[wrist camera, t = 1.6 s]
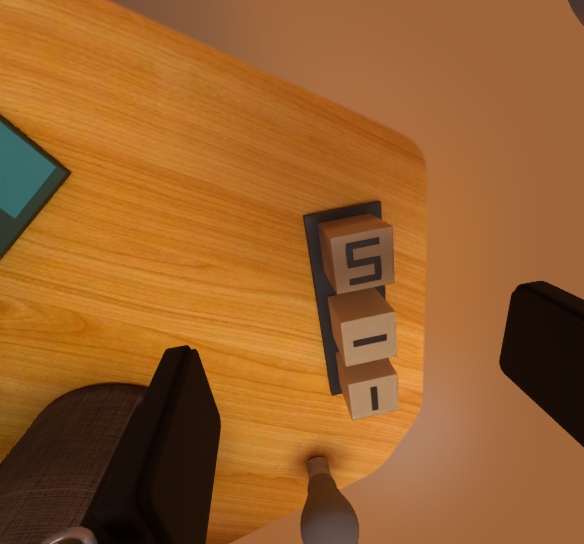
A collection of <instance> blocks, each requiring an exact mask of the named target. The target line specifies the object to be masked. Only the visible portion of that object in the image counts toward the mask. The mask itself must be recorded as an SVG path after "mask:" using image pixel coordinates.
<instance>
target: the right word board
mask: <svg viewBox="0 0 584 544" xmlns="http://www.w3.org/2000/svg"><path fill="white" fill-rule="evenodd" d="M367 213H371V214H372V215H374V216H376V217H378V218H379V219H381V220H382V218H381V202H380V201H373V202H368V203H363V204H358V205H353V206H348V207H343V208H338V209H333V210H328V211H322V212H317V213H312V214H307V215H303V218H304V225H305V231H306V237H307V244H308V250H309V256H310V263H311V269H312V275H313V282H314V288H315V295H316V301H317V307H318V314H319V320H320V326H321V333H322V339H323V345H324V352H325V358H326V365H327V371H328V377H329V384H330V390H331V394H332V396H333V395H337V394H342V393H343V396H344V398H345V401H346V404H347V407H348V410H349V413H350V415H351V418H352V420H357V419H362V418H366V417H371V416H375V415H380V414H384V413H388V412H393V411H397V410H399V408H398V378H397V373H396V371H395V370H394V368H393V366H392V365H391V363H390V362H389V360H388V358H389V357H393V356H397V348H396V318H395V311H394V309H393V308H392V307H391V306H390V305H389V304H388V302H387V301H386V300H385V285H382V286H377V287H372V288H367V289H363V290H358V291H353V292H348V293H343V294H339V295H337V294H336V292H335V290H334V288H333V287H332V285H331V283H330V281H329V279H328V278H327V276H326V274H325V272H324V267H323V260H322V253H321V245H320V238H319V231H318V223H322V222H327V221H332V220H337V219H342V218H347V217H352V216H357V215H362V214H367Z"/></svg>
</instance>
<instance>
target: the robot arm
mask: <svg viewBox="0 0 584 544" xmlns="http://www.w3.org/2000/svg"><path fill="white" fill-rule="evenodd" d="M499 363H500V367H501V370H502V371H503V372H504V374H505V375H506V376H508V378H510V379H511V380H512V381H513V382H514V383H515V384H516V385H517V386H518V387H519V388H520V389H521V390H522V391H524V392H525V393H526V394H527V395H528V396H529V397H530V398H531V399H532V400H533V401H534V402H536V404H538V405H539V406H540V407H541V408H542V409H543V410H544V411H545V412H546V413H547V414H548V415H550V416H551V417H552V418H553V419H554V420H555V421H556V422H557V423H558V424H559V425H560V426H561V427H562V428H563V429H565V430H566V431H567V432H568V433H569V434H570V435H571V436H572V437H573V438H574V439H575V440H577V442H579V443H580V444H581V445H582V446H583V447H584V300H583V299H581V298H579V297H576V296H574V295H573V294H570V293H568V292H566V291H564V290H562V289H560V288H558V287H556V286H553V285H551V284H549V283H547V282H544V281H536V282H530V283H525V284H521V285H519V286H517V288H516V289H515V291H514V292H513V293H512V295H511V300H510V305H509V311H508V317H507V322H506V328H505V333H504V338H503V344H502V349H501V355H500V360H499ZM220 429H221V421H220V416H219V412H218V409H217V407H216V404H215V401H214V398H213V395H212V392H211V389H210V386H209V383H208V380H207V377H206V374H205V371H204V369H203V366H202V363H201V360H200V357H199V354H198V351H197V350H196V349H192V350H191V348H190V347H189V346H188V345H185V346H180V347H174V348H169V349H166V351H165V352H164V354H163V357H162V359H161V361H160V363H159V365H158V368H157V370H156V372H155V374H154V376H153V379H152V381H151V383H150V385H149V387H148V390H147V392H146V394H145V396H144V399H143V401H142V403H140V404H139V405H138V406H136V408H135V410H134V411H133V413H132V415H131V417H130V420H129V422H128V424H127V426H126V428H125V430H124V432H123V435H122V437H121V439H120V441H119V443H118V445H117V447H116V449H115V452H114V454H113V456H112V458H111V460H110V462H109V464H108V467H107V469H106V471H105V473H104V475H103V477H102V479H101V481H100V484H99V486H98V488H97V490H96V492H95V494H94V496H93V499H92V501H91V503H90V505H89V507H88V509H87V511H86V514H85V516H84V518H83V520H82V522H81V524H80V526H79V527H71V528H67V529H65V530H62V531H60V532H58V533H55V534H53V535H52V536H50V537H49V538H47V539H46V540H44V541H43V542H41V543H40V544H205V543H206V536H207V528H208V521H209V513H210V506H211V498H212V490H213V483H214V475H215V468H216V460H217V452H218V445H219V437H220Z"/></svg>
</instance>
